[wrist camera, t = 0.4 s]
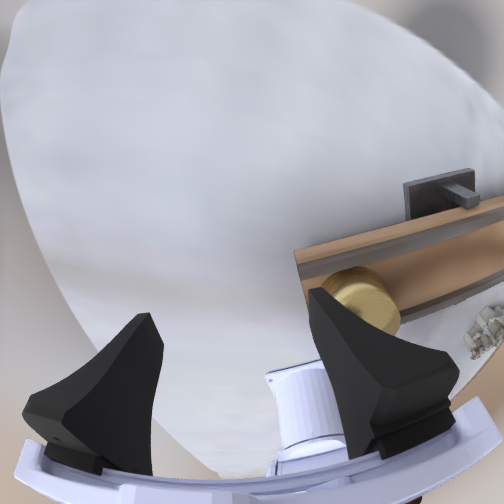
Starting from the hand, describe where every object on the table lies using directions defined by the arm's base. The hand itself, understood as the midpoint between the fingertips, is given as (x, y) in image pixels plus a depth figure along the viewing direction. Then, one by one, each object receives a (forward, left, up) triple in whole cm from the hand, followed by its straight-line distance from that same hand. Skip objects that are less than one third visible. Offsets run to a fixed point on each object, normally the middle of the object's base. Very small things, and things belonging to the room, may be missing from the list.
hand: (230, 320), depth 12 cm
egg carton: (-24, -31, -10) cm, 40 cm away
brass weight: (-5, -7, -5) cm, 10 cm away
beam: (-5, -18, -6) cm, 19 cm away
